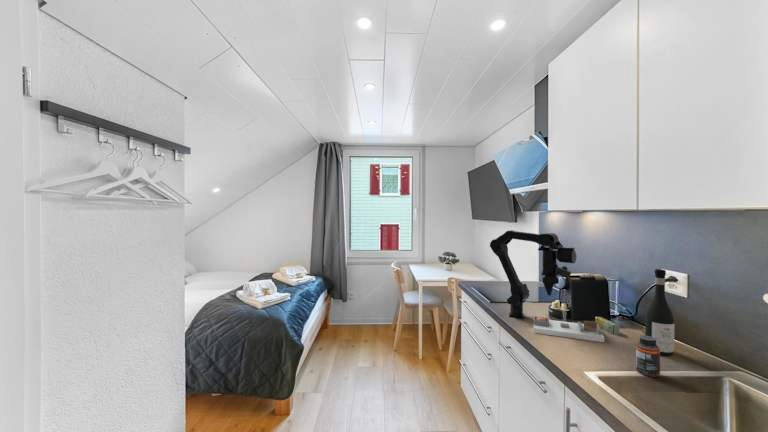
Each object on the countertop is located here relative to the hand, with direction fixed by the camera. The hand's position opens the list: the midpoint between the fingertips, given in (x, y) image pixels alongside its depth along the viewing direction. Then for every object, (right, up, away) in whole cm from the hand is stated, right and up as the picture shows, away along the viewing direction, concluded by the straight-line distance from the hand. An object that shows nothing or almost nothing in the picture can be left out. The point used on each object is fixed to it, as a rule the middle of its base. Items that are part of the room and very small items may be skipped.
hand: (549, 295), depth 148 cm
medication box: (+21, -14, -7) cm, 26 cm away
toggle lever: (+2, -9, -9) cm, 13 cm away
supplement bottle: (+8, -14, -45) cm, 48 cm away
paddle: (+9, -11, -15) cm, 21 cm away
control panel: (+2, -13, -10) cm, 16 cm away
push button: (-6, -11, -6) cm, 14 cm away
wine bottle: (+25, -14, -30) cm, 41 cm away
